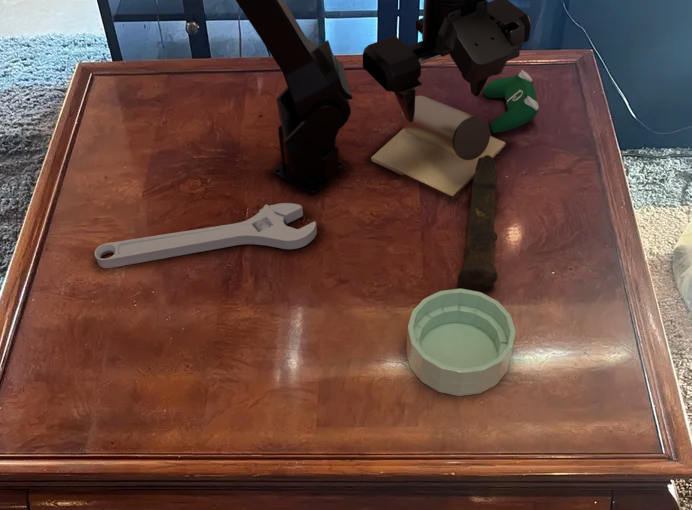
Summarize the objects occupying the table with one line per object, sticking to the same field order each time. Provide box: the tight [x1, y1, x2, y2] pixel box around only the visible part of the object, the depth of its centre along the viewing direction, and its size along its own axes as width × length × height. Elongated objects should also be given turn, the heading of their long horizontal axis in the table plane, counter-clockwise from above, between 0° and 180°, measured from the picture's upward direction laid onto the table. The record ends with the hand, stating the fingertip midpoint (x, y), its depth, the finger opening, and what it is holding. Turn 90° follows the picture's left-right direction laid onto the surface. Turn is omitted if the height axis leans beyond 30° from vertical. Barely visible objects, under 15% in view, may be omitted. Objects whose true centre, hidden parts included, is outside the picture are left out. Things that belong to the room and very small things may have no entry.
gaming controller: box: [483, 69, 540, 134], centre depth 104 cm, size 9×4×6 cm
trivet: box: [370, 127, 506, 198], centre depth 101 cm, size 12×12×1 cm
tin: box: [400, 95, 491, 160], centre depth 96 cm, size 5×5×12 cm
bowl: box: [405, 288, 517, 397], centre depth 80 cm, size 10×10×4 cm
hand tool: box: [456, 155, 499, 292], centre depth 90 cm, size 19×4×5 cm, turn 168°
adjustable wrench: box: [94, 202, 318, 269], centre depth 93 cm, size 25×6×2 cm, turn 96°
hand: (442, 107), depth 95 cm, fingers open, 9 cm apart
